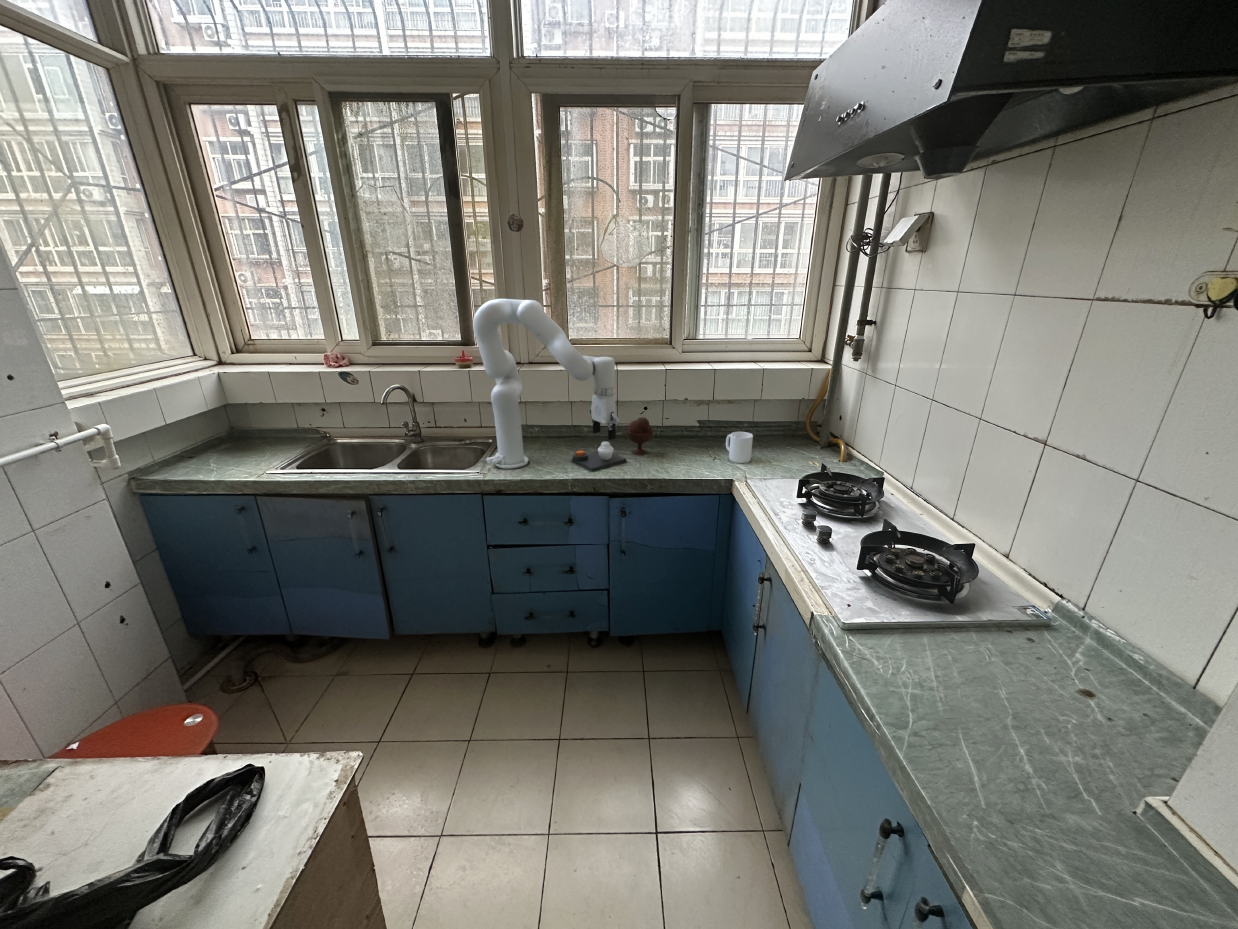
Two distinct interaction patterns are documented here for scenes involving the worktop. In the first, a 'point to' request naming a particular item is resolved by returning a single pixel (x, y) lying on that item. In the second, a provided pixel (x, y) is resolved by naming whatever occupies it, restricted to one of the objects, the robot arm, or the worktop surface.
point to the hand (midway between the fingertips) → (604, 435)
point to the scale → (596, 461)
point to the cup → (739, 446)
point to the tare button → (580, 453)
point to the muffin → (605, 450)
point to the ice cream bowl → (639, 433)
